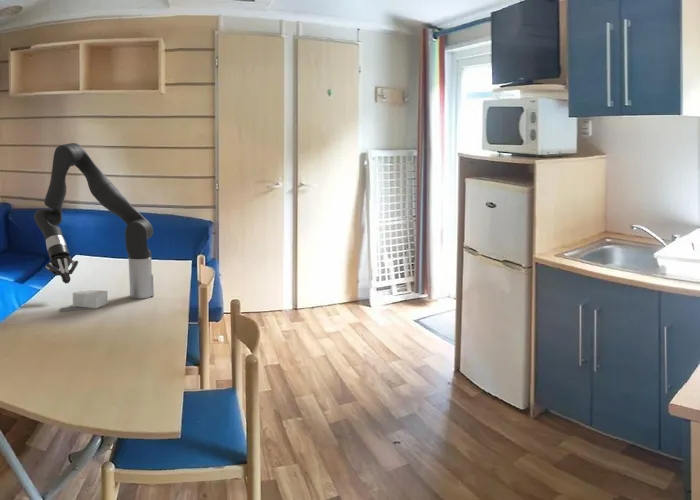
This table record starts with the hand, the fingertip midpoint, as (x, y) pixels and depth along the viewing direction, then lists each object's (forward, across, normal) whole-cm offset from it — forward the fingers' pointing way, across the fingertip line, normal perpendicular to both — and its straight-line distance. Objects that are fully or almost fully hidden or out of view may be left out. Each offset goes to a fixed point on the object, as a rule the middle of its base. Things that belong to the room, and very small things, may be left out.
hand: (67, 282), depth 235 cm
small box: (+9, +2, -2) cm, 9 cm away
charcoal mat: (+15, 0, -3) cm, 15 cm away
